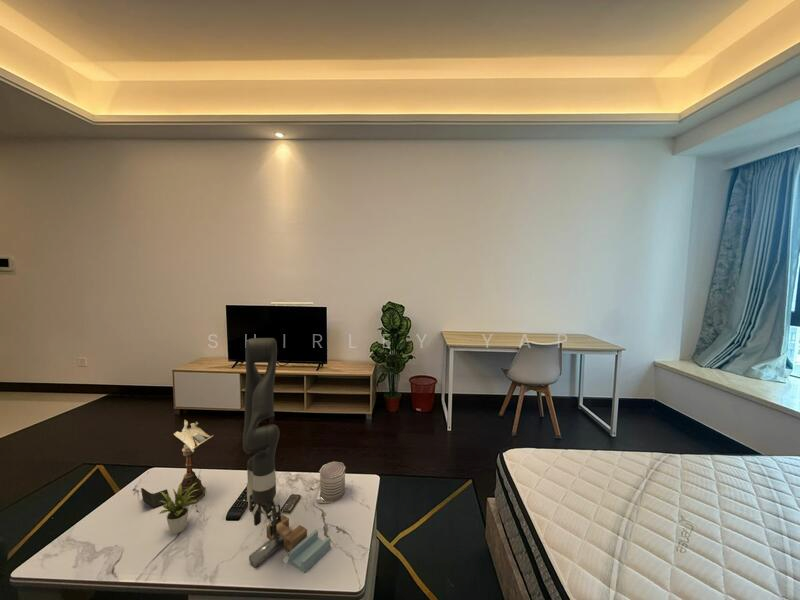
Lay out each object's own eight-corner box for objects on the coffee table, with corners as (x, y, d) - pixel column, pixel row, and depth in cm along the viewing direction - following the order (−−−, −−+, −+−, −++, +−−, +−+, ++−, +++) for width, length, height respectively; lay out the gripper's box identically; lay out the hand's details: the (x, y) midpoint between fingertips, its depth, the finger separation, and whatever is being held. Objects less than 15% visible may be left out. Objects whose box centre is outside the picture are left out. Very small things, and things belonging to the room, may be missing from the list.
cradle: (288, 561, 111) (288, 551, 111) (315, 538, 121) (315, 529, 121) (304, 572, 107) (304, 562, 107) (330, 547, 117) (330, 538, 117)
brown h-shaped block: (266, 537, 122) (266, 523, 121) (282, 525, 128) (282, 511, 127) (291, 554, 114) (291, 539, 114) (307, 541, 120) (306, 526, 120)
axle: (256, 569, 108) (255, 557, 108) (249, 564, 110) (248, 553, 110) (291, 541, 120) (290, 530, 120) (283, 537, 122) (283, 527, 122)
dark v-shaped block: (176, 496, 142) (157, 484, 138) (161, 513, 138) (141, 502, 133) (167, 489, 149) (149, 478, 145) (153, 506, 145) (134, 495, 140)
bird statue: (223, 490, 149) (221, 415, 147) (200, 510, 136) (197, 428, 134) (193, 485, 153) (191, 411, 151) (168, 503, 140) (165, 423, 138)
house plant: (207, 529, 126) (205, 488, 125) (163, 550, 115) (161, 506, 114) (195, 511, 135) (194, 473, 134) (154, 529, 125) (152, 488, 124)
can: (349, 496, 145) (349, 470, 144) (325, 506, 139) (325, 479, 138) (339, 483, 155) (339, 458, 154) (315, 491, 148) (315, 466, 147)
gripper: (286, 484, 111) (287, 530, 112) (261, 471, 119) (262, 514, 120) (267, 496, 105) (268, 545, 106) (241, 482, 113) (242, 527, 113)
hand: (265, 528), depth 113 cm, fingers open, 8 cm apart
